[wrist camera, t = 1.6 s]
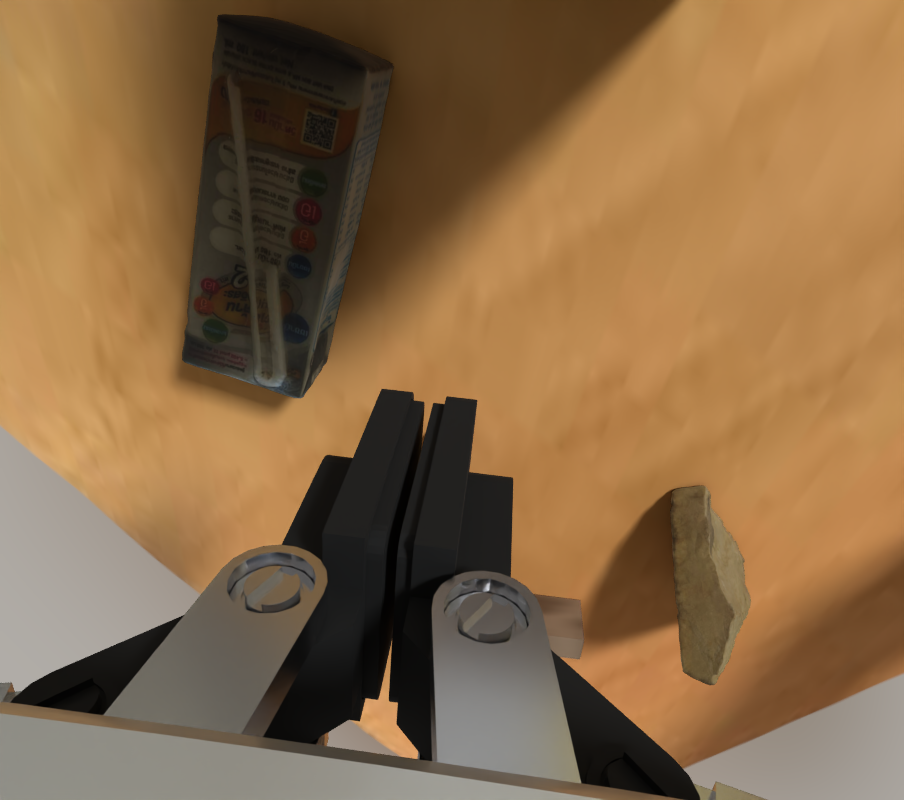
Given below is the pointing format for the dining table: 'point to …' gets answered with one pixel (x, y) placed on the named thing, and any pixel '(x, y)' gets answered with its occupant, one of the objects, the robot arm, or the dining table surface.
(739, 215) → the dining table surface
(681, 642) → the rock
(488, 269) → the dining table surface
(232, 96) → the beverage carton
